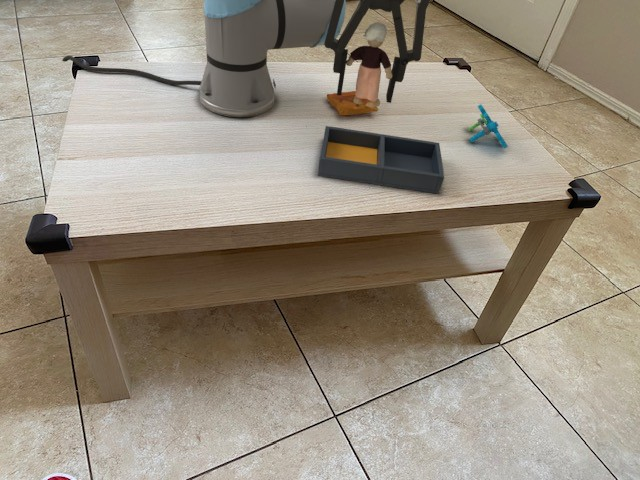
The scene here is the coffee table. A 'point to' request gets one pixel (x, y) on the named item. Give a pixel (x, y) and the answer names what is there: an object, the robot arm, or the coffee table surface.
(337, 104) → the pottery fragment
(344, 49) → the robot arm
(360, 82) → the grandmother figurine
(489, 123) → the blue green toy windmill
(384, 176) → the divided tray
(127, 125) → the coffee table surface
